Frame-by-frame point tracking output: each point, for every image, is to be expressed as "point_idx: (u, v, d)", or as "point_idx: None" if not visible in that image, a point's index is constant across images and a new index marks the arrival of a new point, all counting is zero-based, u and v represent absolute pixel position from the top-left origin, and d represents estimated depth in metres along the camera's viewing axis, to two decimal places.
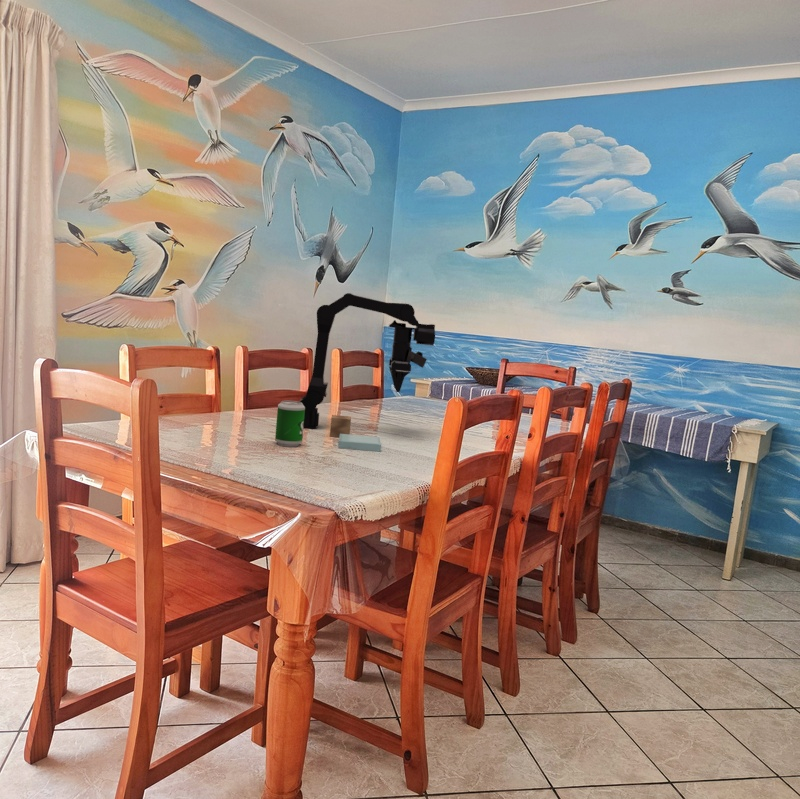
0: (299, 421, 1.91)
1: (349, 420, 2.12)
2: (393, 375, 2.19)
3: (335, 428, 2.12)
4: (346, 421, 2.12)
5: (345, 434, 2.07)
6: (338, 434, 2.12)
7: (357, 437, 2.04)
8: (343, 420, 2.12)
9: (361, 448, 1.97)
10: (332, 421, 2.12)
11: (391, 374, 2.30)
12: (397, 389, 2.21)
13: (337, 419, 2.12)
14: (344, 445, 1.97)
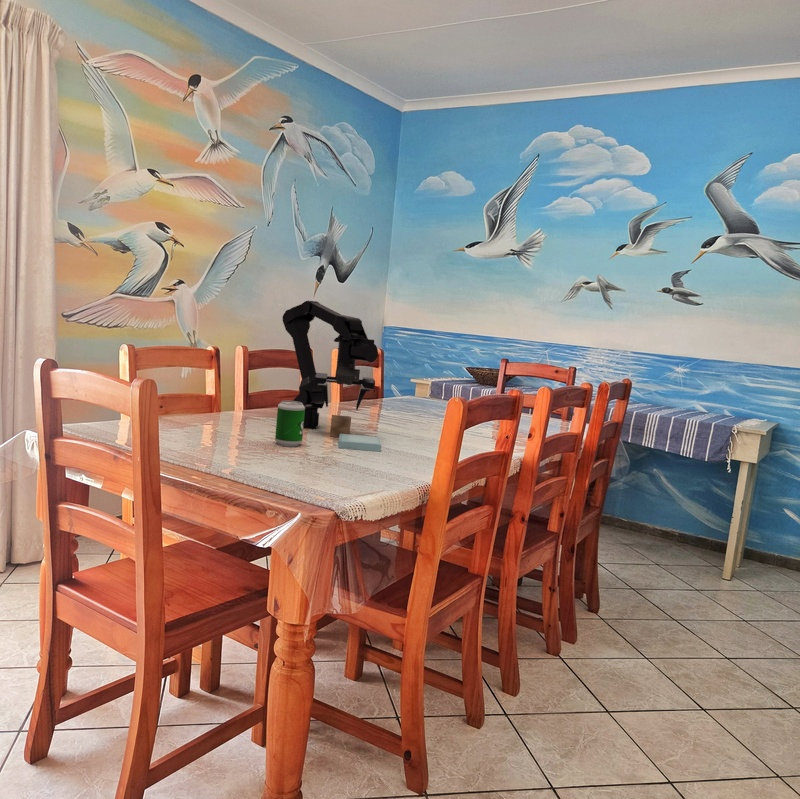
0: (299, 421, 1.91)
1: (349, 420, 2.12)
2: None
3: (335, 428, 2.12)
4: (346, 421, 2.12)
5: (345, 434, 2.07)
6: (338, 434, 2.12)
7: (357, 437, 2.04)
8: (343, 420, 2.12)
9: (361, 448, 1.97)
10: (332, 421, 2.12)
11: None
12: None
13: (337, 419, 2.12)
14: (344, 445, 1.97)
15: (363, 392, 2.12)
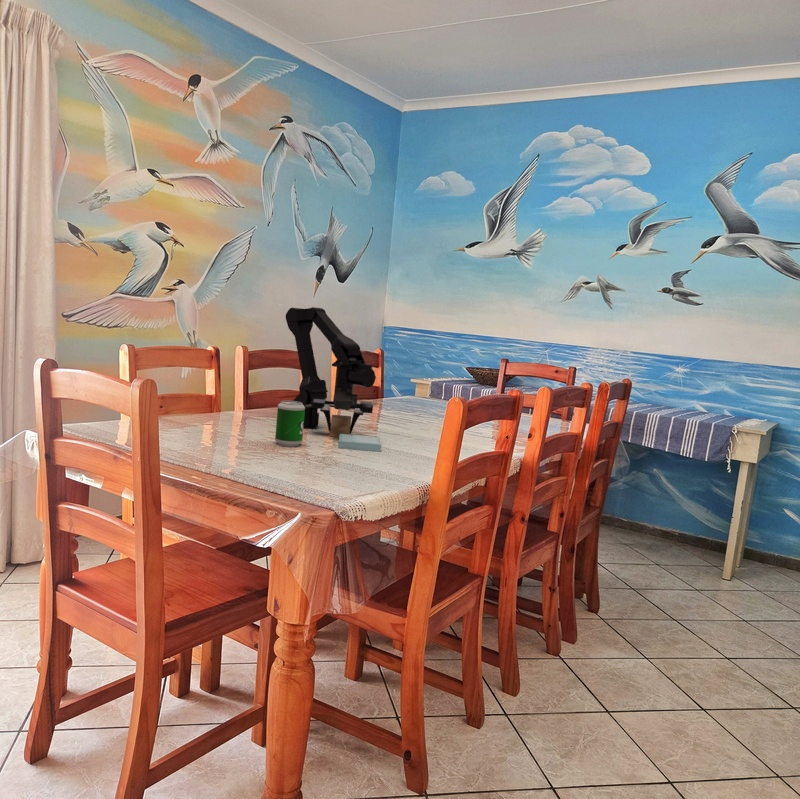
0: (299, 421, 1.91)
1: (349, 420, 2.12)
2: None
3: (335, 428, 2.12)
4: (346, 421, 2.12)
5: (345, 434, 2.07)
6: (338, 434, 2.12)
7: (357, 437, 2.04)
8: (343, 420, 2.12)
9: (361, 448, 1.97)
10: (332, 421, 2.12)
11: (352, 418, 2.17)
12: (328, 428, 2.15)
13: (337, 419, 2.12)
14: (344, 445, 1.97)
15: (356, 416, 2.13)
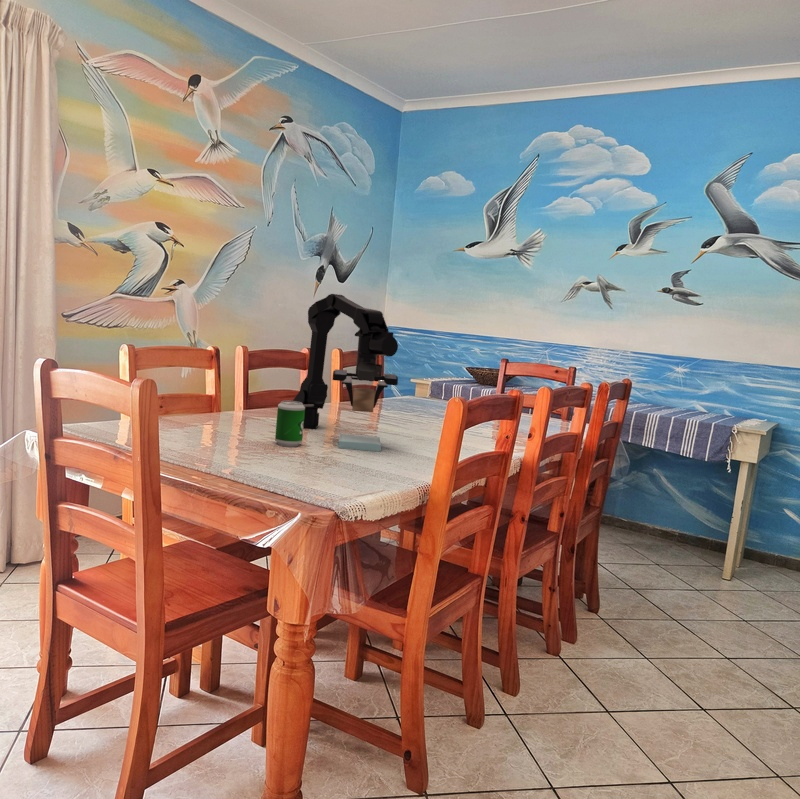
0: (299, 421, 1.91)
1: (373, 392, 1.99)
2: None
3: (357, 401, 1.99)
4: (370, 393, 1.99)
5: (345, 434, 2.07)
6: (361, 407, 1.99)
7: (357, 437, 2.04)
8: (366, 392, 1.99)
9: (361, 448, 1.97)
10: (355, 393, 1.98)
11: None
12: None
13: (360, 391, 1.98)
14: (344, 445, 1.97)
15: (380, 388, 2.00)
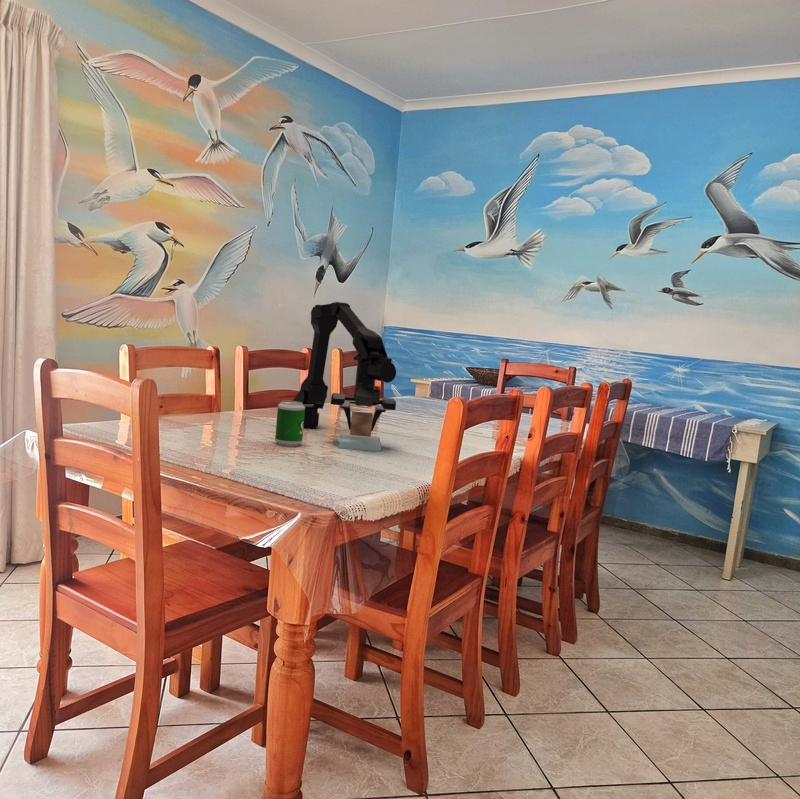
0: (299, 421, 1.91)
1: (371, 417, 1.99)
2: None
3: (355, 425, 1.99)
4: (368, 418, 1.99)
5: (345, 434, 2.07)
6: (359, 432, 1.99)
7: (357, 437, 2.04)
8: (364, 417, 1.99)
9: (361, 448, 1.97)
10: (353, 418, 1.99)
11: (373, 415, 2.04)
12: (348, 426, 2.02)
13: (358, 416, 1.99)
14: (344, 445, 1.97)
15: (378, 413, 2.00)
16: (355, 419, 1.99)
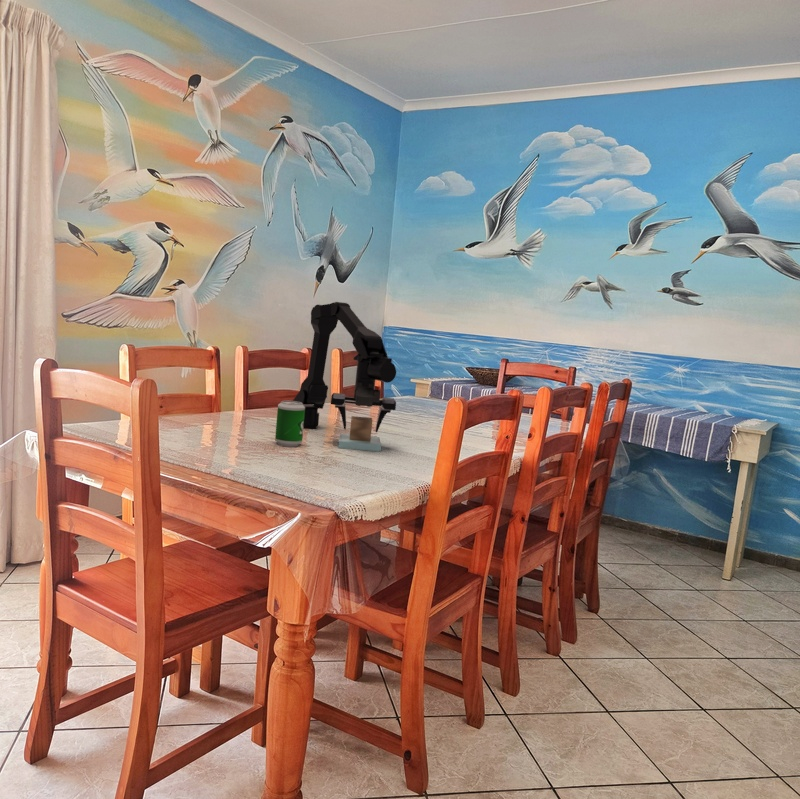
0: (299, 421, 1.91)
1: (370, 422, 1.99)
2: None
3: (355, 430, 1.99)
4: (367, 423, 1.99)
5: (345, 434, 2.07)
6: (359, 436, 2.00)
7: None
8: (364, 422, 1.99)
9: (361, 448, 1.97)
10: (352, 423, 1.99)
11: (378, 415, 2.04)
12: None
13: (358, 421, 1.99)
14: (344, 445, 1.97)
15: (383, 413, 2.00)
16: (355, 424, 1.99)
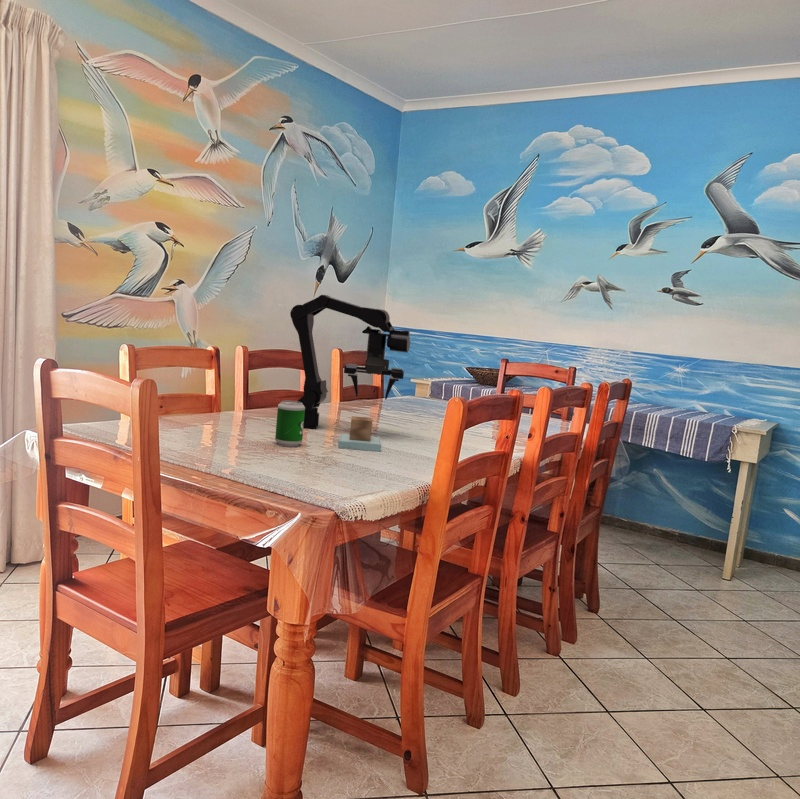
0: (299, 421, 1.91)
1: (370, 422, 1.99)
2: None
3: (355, 430, 1.99)
4: (367, 423, 1.99)
5: (345, 434, 2.07)
6: (359, 436, 2.00)
7: None
8: (364, 422, 1.99)
9: (361, 448, 1.97)
10: (352, 423, 1.99)
11: None
12: None
13: (358, 421, 1.99)
14: (344, 445, 1.97)
15: (392, 382, 2.18)
16: (355, 424, 1.99)
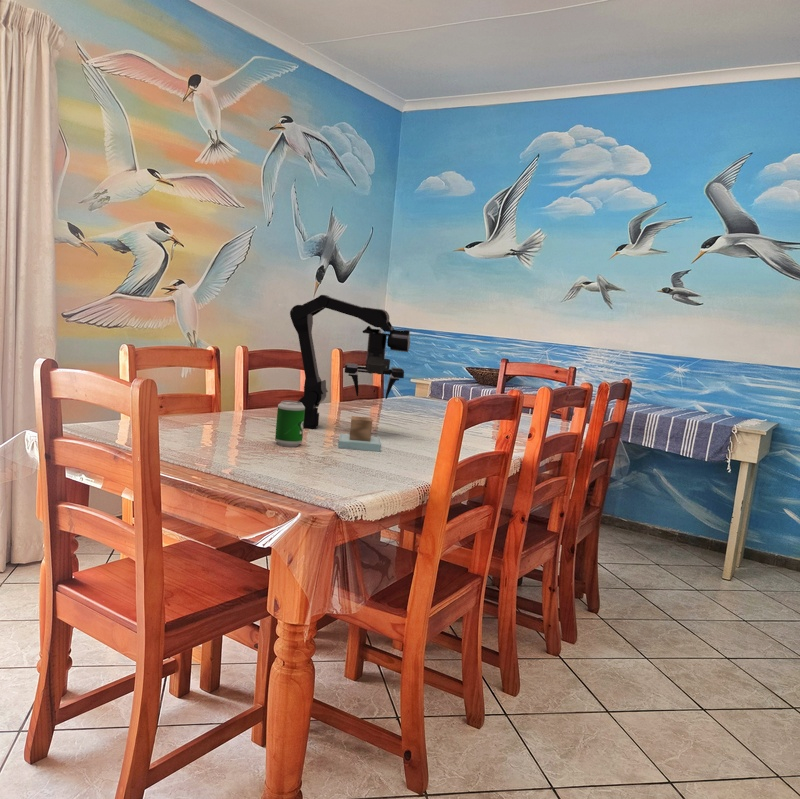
0: (299, 421, 1.91)
1: (370, 422, 1.99)
2: None
3: (355, 430, 1.99)
4: (367, 423, 1.99)
5: (345, 434, 2.07)
6: (359, 436, 2.00)
7: None
8: (364, 422, 1.99)
9: (361, 448, 1.97)
10: (352, 423, 1.99)
11: None
12: (356, 393, 2.21)
13: (358, 421, 1.99)
14: (344, 445, 1.97)
15: (392, 381, 2.19)
16: (355, 424, 1.99)
